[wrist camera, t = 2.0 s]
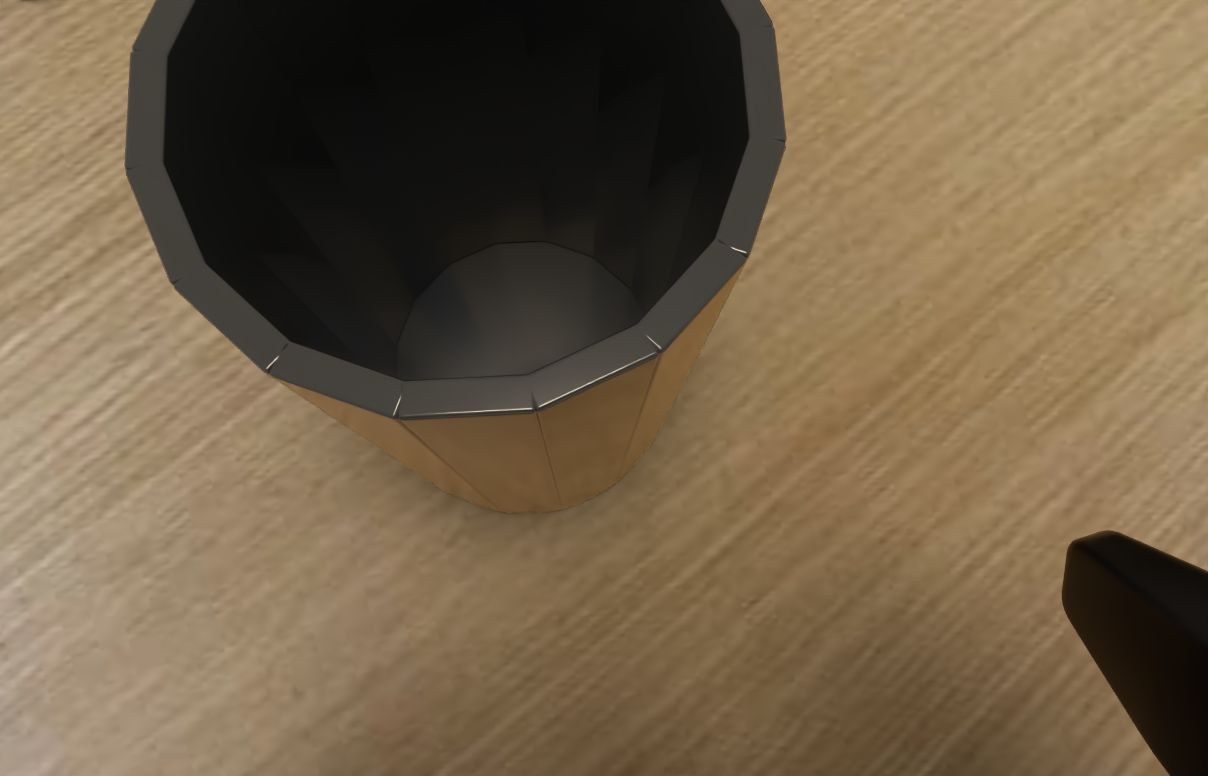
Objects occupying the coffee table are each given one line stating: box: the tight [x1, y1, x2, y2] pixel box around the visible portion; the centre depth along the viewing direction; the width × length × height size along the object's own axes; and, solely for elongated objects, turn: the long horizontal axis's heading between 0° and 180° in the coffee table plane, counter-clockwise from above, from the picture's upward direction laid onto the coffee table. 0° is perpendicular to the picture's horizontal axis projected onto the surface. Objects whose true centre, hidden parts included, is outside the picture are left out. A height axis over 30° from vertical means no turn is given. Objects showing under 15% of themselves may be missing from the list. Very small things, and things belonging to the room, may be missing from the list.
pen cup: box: [125, 0, 787, 514], centre depth 16 cm, size 7×7×13 cm
